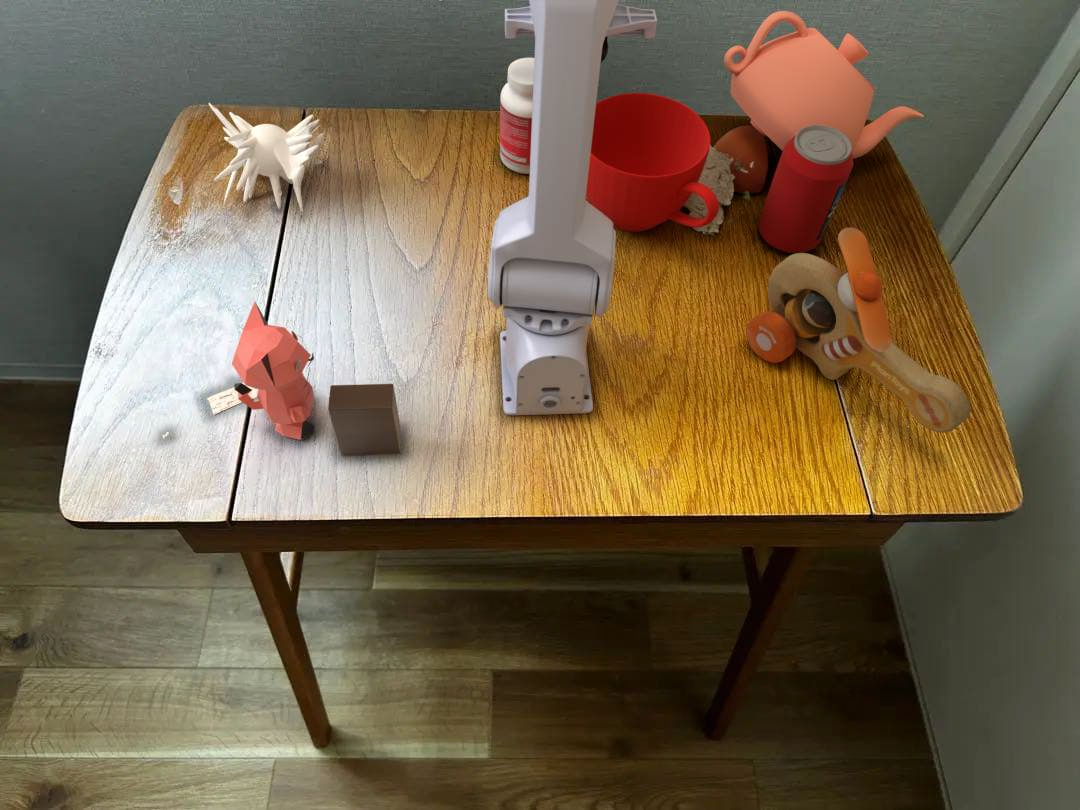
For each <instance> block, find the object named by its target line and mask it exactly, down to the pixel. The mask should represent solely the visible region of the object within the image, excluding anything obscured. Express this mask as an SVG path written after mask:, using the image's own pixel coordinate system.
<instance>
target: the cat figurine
mask: <svg viewBox="0 0 1080 810" xmlns="http://www.w3.org/2000/svg"><path fill="white" fill-rule="evenodd" d="M290 332H291V333H290ZM300 335H301V336H300V337H302V334H300ZM303 344H306V342H305V341H303ZM304 346H305V347H304ZM304 346H303V345H302V344H301V343H300V342H299V336H298V334H297V333H296V332H295V331H293V330H291V331H289V330H288V329H287V328H286V327H285V326H278V325H270V324H268V322H267V320H266V318H265V317H264V315H263V313H262V311H261V309H260V307H259V306H258V304H257V302H256V301H254V302H253V304H252V307H251V310H250V312H249V314H248V317H247V319H246V321H245V324H244V326H243V329H242V331H241V334H240V337H239V340H238V343H237V346H236V349H235V352H234V355H233V357H232V361H231V365H232V367H233V368H234V370H235V371H236V374H237V375H238V376H239V378H240V379H241V381H242V382H238V383H237V382H236V383H233V388H234V389H235V390H236V391H237V392H238V399H239V400H240V401H242V402H241V403H243V404H244V405H246V406H247V407H249V408H250V409H251V410H253V411H254V410H255V411H256V410H264V412H265V414H266V415H267V417H268V419H269V420H270V422H271V423H272V424H276V425H275V428H274V431H275V432H277V433H279V434H280V435H281V436H283V437H286V438H291V439H295V440H299V441H302V440H304V439H306V438H308V437H311V436H312V435H314V432H315V428H316V426H315V425H314V424H313V423H311V422H310V421H309V420H307V418H308V417H310V416H311V412H312V409H313V406H314V402H315V396H314V390H313V389H314V388H313V385H312V384H311V381H309V377H310V374H311V373H312V371H311V367H310V365H311V363H313V361H314V360H315V355H314V352H312V353H310V352H309V351H308V348H307V346H306V345H304ZM306 366H307V367H306ZM305 368H306V369H308V373H307V370H305ZM304 370H305V373H307V377H306V376H305V374H304V373H303V372H304ZM243 382H244V384H245V385H246V386H245V385H244V384H242V383H243ZM247 386H249V387H252V388H255V389H258V394H257V397H256V398H257V401H254V398H253V399H252V398H251V397H250V396H249V395H248V394H249V393H250V392H251V391H252V389H250V388H249V387H247Z"/></svg>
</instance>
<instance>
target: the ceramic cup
mask: <svg viewBox="0 0 1080 810" xmlns="http://www.w3.org/2000/svg"><path fill="white" fill-rule="evenodd" d="M710 144H711V136H710V131H709V129H708V126H707V124H706V123H705V121H704V119H702V117H701V116H700V115H699V114H698V113H696V111H694V110H693V109H692V108H690V107H688V106H687V105H685V104H684V103H682V102H680V101H677V100H675V99H673V98H670V97H666V96H663V95H660V94H653V93H647V92H631V93H629V92H628V93H620V94H618V95H612V96H609V97H606V98H604V99H601V100H599V101H598V102H596V109H595V118H594V127H593V136H592V145H591V154H590V163H589V172H588V181H587V190H586V198H587V201H588V202H589V203H590V204H591V205H592V206H594V207H595V208H596V209H598V210H599V211H600V212H602V213H603V214H604V215H605V216H606V217H608V218H609V219H610V220H611V221H612V222H613V228H616V229H619V230H622V231H625V232H636V233H637V232H643V231H648V230H650V229H652V228H654V227H656V226H658V225H661V224H663V223H664V222H666V221H668V220H671V221H673V222H675V223H678V224H680V225H683V226H686V227H689V228H693V227H703V226H705V225H707V224H709V223H710V222H712V221H713V220H714V219H715V218H716V216H717V214H718V211H719V202H718V199H717V197H716V195H715V193H714V192H713V191H712V190H711V189H710V188H708V187H707V186H705V185H703V184H701V183H697V182H698V180H699V178H700V176H701V173H702V171H703V168H704V165H705V162H706V159H707V156H708V153H709V148H710ZM692 193H695V194H697V195H699V196H700V197H701V198H702V199H703V200H704V201H705V203H706V205H707V210H708V213H707V216H706V217H705V218H695V217H692V216H689V215H690V214H687V213H684V212H682V211H681V209H682V208H684V206H683V205H684V204H685V203H686V202H687V200H688V199H689V198H690V196H691V194H692Z"/></svg>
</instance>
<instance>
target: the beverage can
mask: <svg viewBox="0 0 1080 810" xmlns="http://www.w3.org/2000/svg"><path fill="white" fill-rule="evenodd" d="M851 150H852V145H851V142H850V140H849V139H848V138H847V137H846V136H845V135H844V134H843V133H842V132H840V131H838V130H836V129H834V128H831V127H828V126H823V125H811V126H807V127H804V128H802V129H801V130H799V131H798V133H797V134H796V135H795V136H794V137H793V138H792V139H791V140H789V141H788V142H787V144H786V145H785V147H784V149H783V151H782V152H781V155H780V158H779V160H778V164H777V165H776V169H775V172H774V175H773V178H772V181H771V184H770V186H769V190H768V193H767V196H766V198H765V200H764V201H765V202H764V205H763V208H762V211H761V214H760V217H759V220H758V224H757V225H758V232H759V234H760V236H761V238H762V239H763V240H764V241H765V242H766V243H767V244H768V245H770V246H771V247H773V248H775V249H777V250H780V251H782V252H786V253H790V254H792V253H793V254H796V253H806V252H810V251H812V250H813V249H815V248H817V247H818V246H819V245H820V243H821V241H822V239H823V237H824V234H825V232H826V230H827V228H828V226H829V223H830V221H831V218H832V217H833V214H834V212H835V210H836V207H837V205H838V203H839V200H840V198H841V196H842V193H843V191H844V189H845V187H846V184H847V182H848V179H849V177H850V175H851V172H852V169H853V167H854V159H853V157H852V153H851Z"/></svg>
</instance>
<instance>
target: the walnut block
mask: <svg viewBox="0 0 1080 810" xmlns="http://www.w3.org/2000/svg"><path fill="white" fill-rule="evenodd" d="M395 392H396V391H395V387H394V383H369V384H367V383H365V384H331V385H330V386H329V398H328V413H329V417H330V421H331V424H332V428H333V431H334V434H335V437H336V440H337V445H338V448H339V451H340V455H341V457H342V456H369V455H371V456H372V455H400V454H401V449H402V427H401V421H400V416H399V415H400V414H399V410H398V404H397V398H396V393H395Z"/></svg>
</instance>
